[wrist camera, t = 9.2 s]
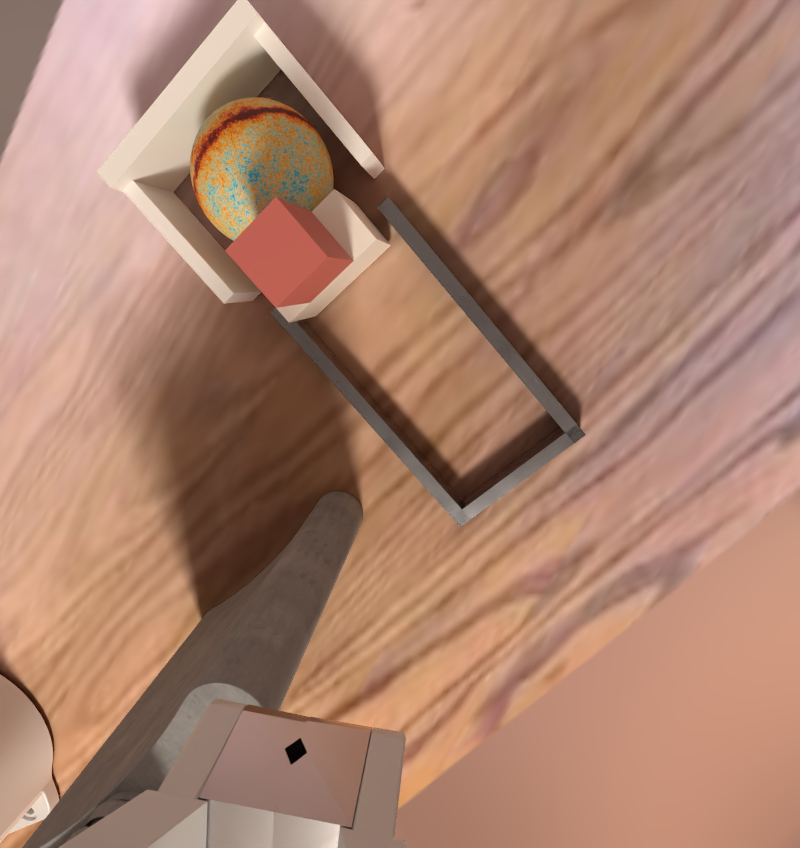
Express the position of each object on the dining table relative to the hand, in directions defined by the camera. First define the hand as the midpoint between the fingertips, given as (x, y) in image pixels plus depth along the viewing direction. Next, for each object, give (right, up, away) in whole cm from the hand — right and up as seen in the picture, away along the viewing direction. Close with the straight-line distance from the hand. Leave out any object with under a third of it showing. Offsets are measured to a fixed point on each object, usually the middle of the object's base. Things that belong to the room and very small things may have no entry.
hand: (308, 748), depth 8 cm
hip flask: (-7, -5, +29) cm, 30 cm away
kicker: (-2, +14, +23) cm, 27 cm away
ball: (-5, +18, +23) cm, 30 cm away
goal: (-6, +19, +23) cm, 30 cm away
